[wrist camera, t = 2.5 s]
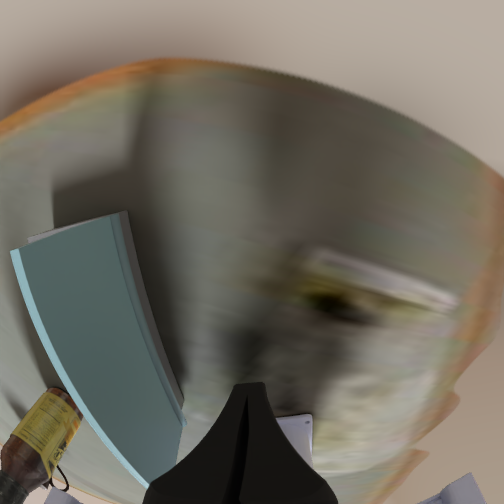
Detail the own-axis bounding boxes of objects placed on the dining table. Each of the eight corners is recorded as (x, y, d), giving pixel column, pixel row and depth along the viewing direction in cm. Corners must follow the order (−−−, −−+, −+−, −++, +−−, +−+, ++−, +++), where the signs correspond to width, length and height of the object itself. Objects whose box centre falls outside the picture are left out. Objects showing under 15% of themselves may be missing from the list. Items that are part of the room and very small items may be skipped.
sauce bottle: (75, 422, 26) (20, 519, 6) (43, 390, 24) (-24, 482, 5) (94, 413, 24) (32, 529, 5) (57, 377, 23) (-23, 486, 4)
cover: (177, 419, 20) (187, 419, 20) (161, 502, 11) (173, 503, 11) (108, 215, 15) (121, 212, 15) (9, 251, 7) (23, 247, 7)
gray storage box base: (184, 400, 23) (176, 426, 19) (114, 395, 23) (101, 416, 20) (127, 210, 18) (102, 217, 15) (51, 229, 18) (25, 238, 15)
